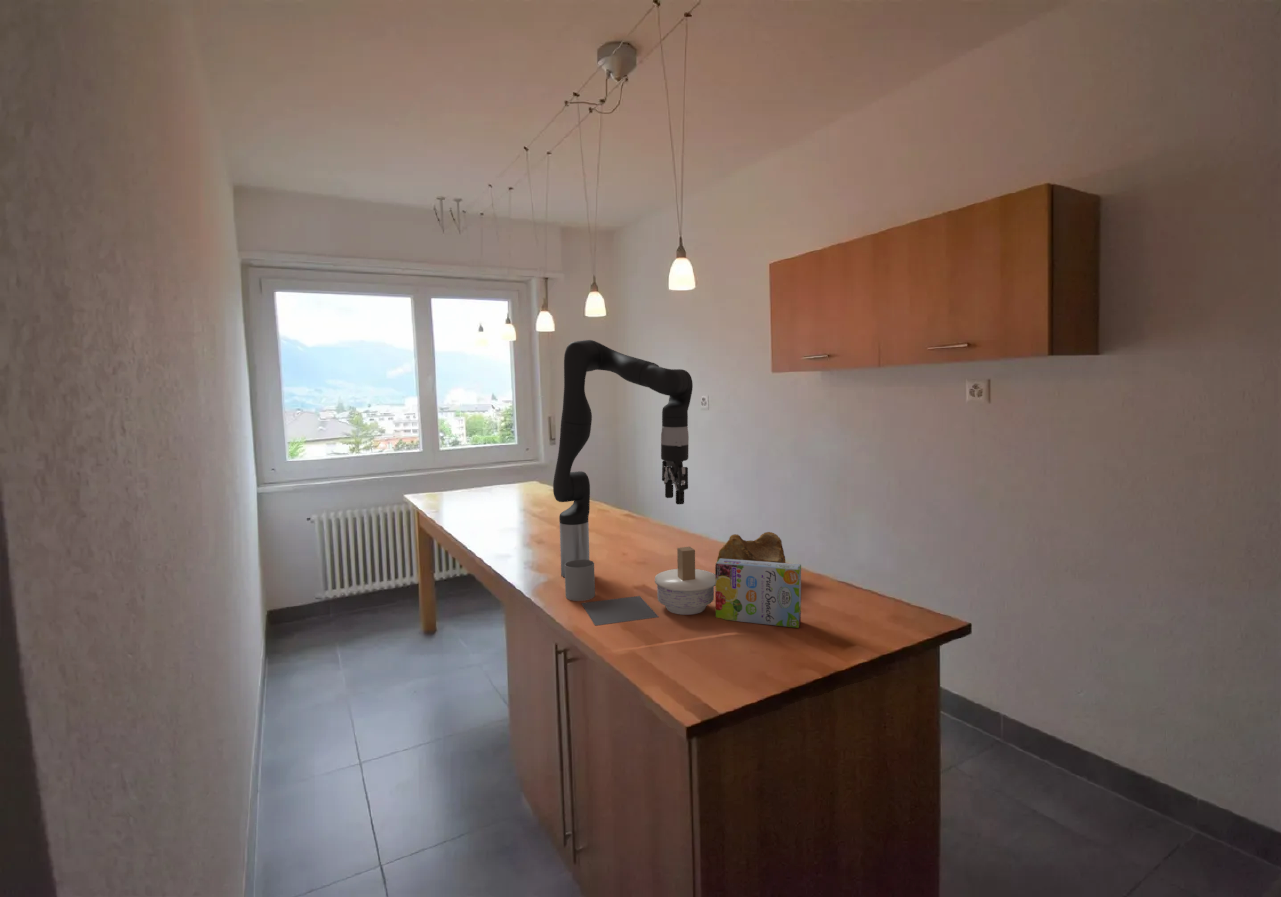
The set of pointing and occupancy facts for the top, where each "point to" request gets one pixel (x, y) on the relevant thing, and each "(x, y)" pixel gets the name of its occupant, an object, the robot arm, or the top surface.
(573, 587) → the cup
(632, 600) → the mat
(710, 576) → the lid
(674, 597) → the paper bowls
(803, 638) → the top surface
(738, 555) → the rough brown rock
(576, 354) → the robot arm
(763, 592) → the snack box
